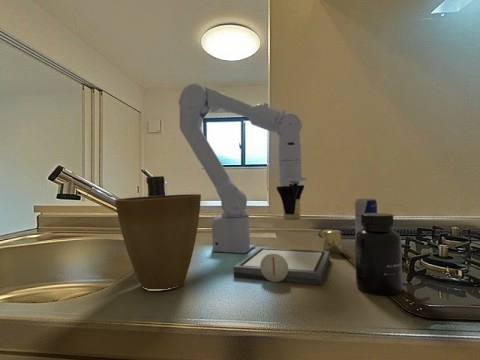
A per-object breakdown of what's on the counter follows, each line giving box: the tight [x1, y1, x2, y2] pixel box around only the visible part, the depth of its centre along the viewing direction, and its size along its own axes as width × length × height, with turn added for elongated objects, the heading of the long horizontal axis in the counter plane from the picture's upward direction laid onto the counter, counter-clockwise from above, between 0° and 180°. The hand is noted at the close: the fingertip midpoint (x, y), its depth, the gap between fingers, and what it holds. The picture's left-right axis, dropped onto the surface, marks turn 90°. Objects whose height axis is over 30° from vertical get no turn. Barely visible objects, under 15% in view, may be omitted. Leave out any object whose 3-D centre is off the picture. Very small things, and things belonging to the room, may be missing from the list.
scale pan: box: [243, 250, 322, 271], centre depth 62 cm, size 13×13×1 cm
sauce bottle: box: [145, 175, 166, 196], centre depth 70 cm, size 6×6×20 cm
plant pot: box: [114, 193, 202, 289], centre depth 55 cm, size 15×15×16 cm
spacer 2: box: [321, 229, 343, 255], centre depth 74 cm, size 4×4×5 cm
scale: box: [233, 247, 330, 286], centre depth 61 cm, size 16×17×5 cm
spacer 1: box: [282, 198, 302, 221], centre depth 79 cm, size 4×4×5 cm
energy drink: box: [354, 198, 378, 234], centre depth 79 cm, size 5×5×12 cm
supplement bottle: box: [354, 212, 403, 296], centre depth 49 cm, size 7×7×12 cm
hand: (291, 213), depth 79 cm, fingers closed on spacer 1, 4 cm apart
